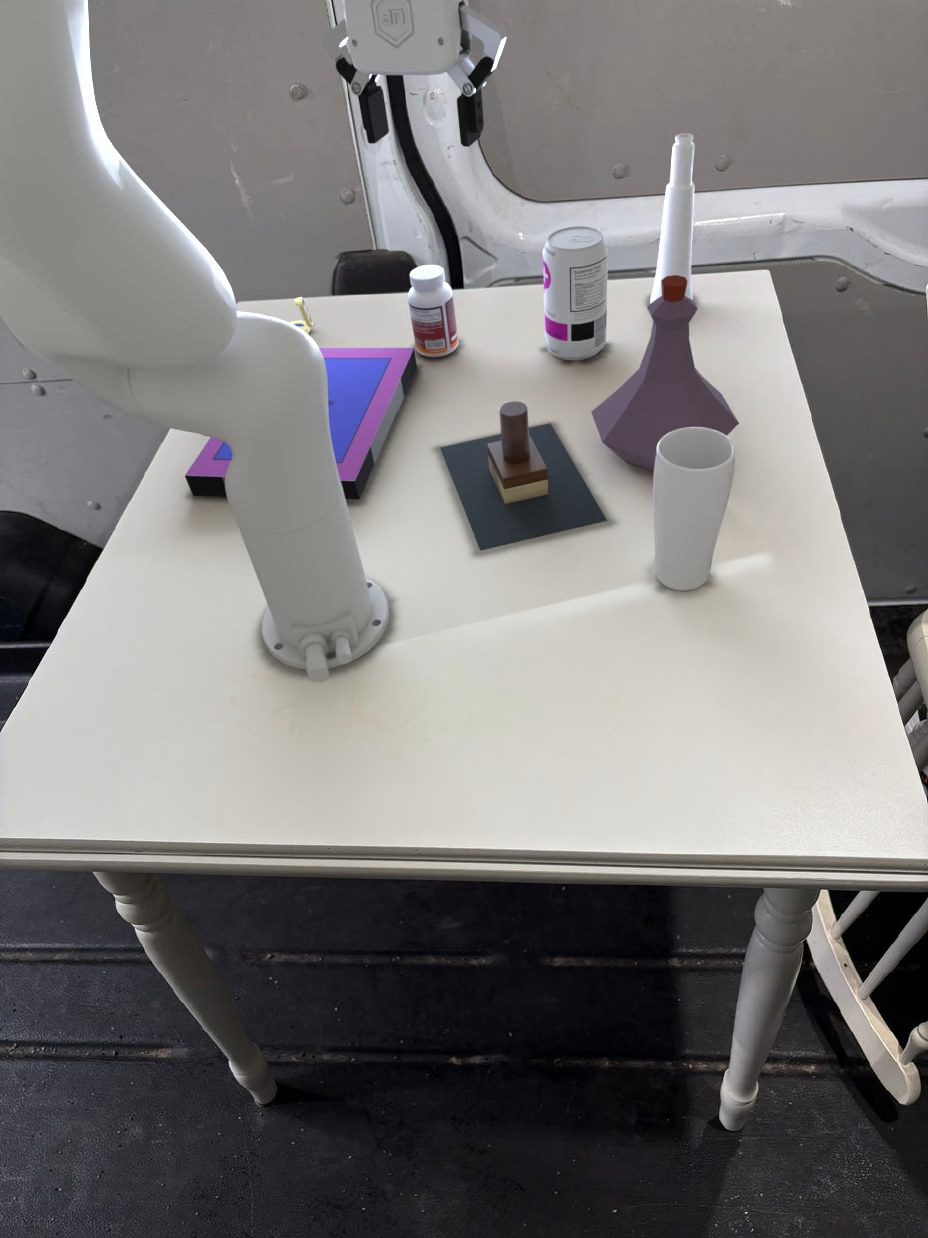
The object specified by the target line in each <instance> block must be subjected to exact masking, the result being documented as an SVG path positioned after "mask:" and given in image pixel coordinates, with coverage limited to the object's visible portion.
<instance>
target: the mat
mask: <svg viewBox="0 0 928 1238" xmlns="http://www.w3.org/2000/svg"><path fill="white" fill-rule="evenodd" d="M529 436H530V437H531V439H532V441H533V443H534V445H535V447H536V449H537V450H538V452H539V454H540V456H541V458H542V460H543V462H544V463H545V465H546V467H547V474H548V494H547V495H542V496H538V497H534V498H529V499H525V500H521V501H516V502H512V503H507V504H505V503H504V500H503V498H502V496H501V494H500V491H499V489H498V487H497V485H496V483H495V480H494V478H493V476H492V474H491V472H490V469H489V461H488V450H487V444H489V443H494V442H498V441H502V439H501V433H499V434H494V435H490V436H486V437H481V438H476V439H472V440H467V441H462V442H457V443H453V444H450V445H449V444H448V445H445V446H440V447H439V449H440V451H441V454H442V456H443V459H444V462H445V464H446V466H447V469H448V472H449V474H450V477H451V480H452V483H453V485H454V487H455V490H456V492H457V494H458V495H457V496H458V497H459V500H460V502H461V505H462V508H463V511H464V512H465V515H466V518H467V520H468V523H469V525H470V528H471V530H472V533H473V536H474V538H475V541H476V544H477V546H478V549H479V551H484V550H488V549H492V548H497V547H501V546H505V545H509V544H513V543H514V544H515V543H518V542H523V541H526V540H531V539H535V538H539V537H543V536H549V535H552V534H556V533H560V532H565V531H570V530H574V529H578V528H582V527H587V526H591V525H594V524H599V523H600V524H601V523H604V522H607V521H608V519H607V517H606V516H605V514H604V512H603V511H602V509H601V507H600V506H599V504H598V502H597V500H596V499H595V497H594V495H593V494H592V491H591V490H590V488H589V487H588V484H587V483H586V482H585V480H584V478H583V477H582V475H581V473H580V471H579V469H578V468H577V466H576V464H575V463H574V461H573V459H572V458H571V456H570V454H569V453H568V450H567V449H566V447H565V446H564V444H563V442H562V440H561V439H560V437H559V435H558V434H557V432H556V430H555V429H554V427H553V425H552V423H551V422H549V423H544V424H540V425H535V426H530V427H529Z"/></svg>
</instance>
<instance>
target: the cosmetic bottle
mask: <svg viewBox="0 0 928 1238" xmlns="http://www.w3.org/2000/svg"><path fill="white" fill-rule="evenodd" d="M674 140H675V142H674V143H673V145H672V148H671V151H672V152H671V164H670V177H669V182H668V183H667V184H666V188H665V196H664V202H663V203H664V204H663V212H662V219H661V220H662V221H661V231H660V240H659V248H658V256H657V264H656V271H655V276H654V283H653V287H652V292H651V295H650V301H649V304H651V303H652V302H653V301H655V300H656V299H657V298H659V297H661V296H662V287H661V280H662V279H664V278H665V277H666V276H673V275H678V276H682V277H685V278H686V280H687V281H688V282H687V286H686V291H685V296H687V297H688V298H690V299H691V300H693V299H694V298H693V286H692V285H693V284H692V283H693V282H692V255H693V254H692V252H693V251H692V250H693V231H694V229H693V228H694V211H695V209H694V208H695V183H694V182H693V181H692V180H693V171H694V170H693V169H694V158H695V157H694V156H695V148H696V147H695V143H694V142H693V140H694V135H693V133H689V132H685V133H684V132H683V133H678V134H676V135H675V138H674ZM693 301H694V300H693Z"/></svg>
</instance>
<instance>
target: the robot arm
mask: <svg viewBox="0 0 928 1238" xmlns="http://www.w3.org/2000/svg"><path fill="white" fill-rule="evenodd" d="M342 1H343V2H342V3H343V8H344V9H343V11H344V19H342V20H341V21H340V22H339V23H337V24H336V25H335V26H334V27H333V28H332V29H330V30H329V31H328V32H327V33H326V34H324V36H323V37H322V43H323V46H324V48H325V49H326V51H327V53H328V54H329V57H330V58H331V60H332V62H334V64H335V69H336V71H337V73H338V74H339V75H340V76H341V77H342V78H343V79H344V80H345V82H346V83H348V85H349V86H350V87H349V88H350V91H351V93H352V94H353V95H355V96H356V97H357V98H358V104H359V110H360V116H361V121H362V127H363V129H364V131H365V133H366V134H365V135H366V140H367V143H368V144H371V145H372V144H376V143H378V142H379V141H380V140H382V139H383V138H384V137H386V136H387V135H389V132H390V128H389V121H388V113H387V108H386V102H385V101H386V100H385V94H384V89H383V88H382V85H378V84H377V82H378V80H379V77H380V76H432V75H433V76H434V75H441V74H445V73H447V75H448V76H449V77H450V78H451V80H452V81H453V82H454V84H455V85H456V86H457V88H458V89H459V90H460V95H459V96H458V97H457V98H456V108H457V109H456V110H457V119H458V129H459V139H460V145H461V146H462V147H464V148H465V147H466V148H469V147H471V146H472V145H473V144H474V143H475V142H477V140H478V139H480V138H481V136H482V132H483V130H484V127H485V120H484V107H483V94H482V93H483V92H482V88H483V87H484V86H485V85H486V84H487V81H488V80H489V79H490V77H491V76H492V74H493V73H494V72H495V70H496V69H497V67H498V66H499V60H500V57H501V55H502V52H503V49H504V46H505V43H506V40H507V38H508V34H507V31H506V29H504V28H503V27H501V26H500V25H498V24H497V23H495V22H494V21H492V20H490V19H489V18H487V17H485V16H484V15H483V14H480V12H478V11H477V10H474V9H473V8H471V7H469V0H342ZM88 3H89V2H88V0H0V318H2V320H3V322H4V323H5V325H6V327H8V329H9V331H11V333H12V334H13V335H14V337H15V338H16V339H17V340H18V341H19V342H20V343H21V344H23V346H24V347H26V348H27V349H28V350H29V351H30V352H32V353H33V354H35V356H37V357H38V358H39V359H41V360H43V361H44V362H46V363H47V364H49V365H50V366H51V367H53V368H55V370H58V371H59V372H61V373H62V374H64V375H65V376H67V377H68V378H69V379H71V380H73V381H74V382H76V383H77V384H78V385H80V386H82V387H83V388H85V389H86V390H88V391H89V392H91V393H92V394H93V395H96V396H97V397H99V398H100V399H102V401H104V402H106V403H107V404H109V405H111V406H112V407H114V408H115V409H117V410H119V411H120V412H122V413H124V414H126V415H128V416H130V417H132V418H133V419H136V420H139V421H141V422H143V423H147V424H150V425H153V426H157V427H162V428H167V429H172V430H177V431H182V432H187V433H193V434H198V435H201V436H204V437H208V438H210V437H212V438H216V439H220V440H222V441H224V442H226V443H227V444H228V445H229V446H230V448H231V450H232V454H233V455H232V460H231V463H230V465H229V467H228V469H227V473H226V477H225V490H226V495H227V497H226V499H227V502H228V504H229V507H230V510H231V513H232V515H233V517H234V520H235V522H236V524H237V525H236V526H237V527H238V530H239V533H240V535H241V538H242V541H243V543H244V546H245V548H246V551H247V553H248V557H249V559H250V561H251V564H252V567H253V570H254V572H255V575H256V578H257V580H258V582H259V585H260V588H261V591H262V593H263V596H264V598H265V601H266V604H267V608H266V609H265V611H264V614H263V616H262V620H261V625H260V627H261V630H260V631H261V636H262V639H263V642H264V645H265V647H266V648H267V651H268V652H269V653H270V654H271V655H272V656H273V657H274V659H276V660H278V662H280V663H282V664H284V665H286V666H289V667H291V668H295V669H300V670H306V676H307V679H308V680H309V681H310V682H312V683H316V684H318V683H323V682H324V681H327V680H328V678H329V677H330V671H329V670H330V669H333V668H336V667H340V666H343V665H347V664H349V663H351V662H352V661H355V660H358V658H361V657H362V656H363V655H365V654H367V653H368V652H369V651H370V650H371V649H372V648H374V646H375V645H376V644H377V643H378V642H379V641H380V640H381V639H382V637H383V635H384V634H385V632H386V630H387V628H388V624H389V621H390V606H389V603H388V598H387V595H386V594H385V592H384V591H383V589H382V588H381V587H380V585H378V584H377V583H376V582H375V581H373V580H371V579H370V578H368V577H366V575H365V571H364V566H363V563H362V560H361V555H360V551H359V548H358V544H357V539H356V536H355V531H354V528H353V524H352V523H353V522H352V519H351V515H350V511H349V507H348V503H347V499H345V495H344V491H343V487H342V484H341V481H340V477H339V472H338V468H337V464H336V460H335V455H334V451H333V445H332V440H331V433H330V425H329V411H328V380H327V371H326V365H325V361H324V358H323V355H322V353H321V351H320V349H319V348H320V347H319V346H318V344H317V343H316V341H315V340H314V339H313V338H312V337H311V336H310V335H309V333H308V334H307V333H306V332H304V331H303V330H302V329H300V328H298V327H297V326H295V325H293V324H291V323H290V322H288V321H287V320H283V319H280V318H278V317H274V316H270V315H266V314H261V313H256V312H255V313H254V312H248V311H239V310H238V309H237V308H238V307H237V301H236V297H235V294H234V291H233V288H232V286H231V284H230V282H229V281H228V279H227V277H226V274H225V272H224V271H223V269H222V268H221V267H220V265H219V264H218V263H217V261H216V260H215V259H214V257H213V256H212V255H211V254H210V253H209V251H208V250H207V248H206V247H205V246H204V245H203V244H202V243H201V242H200V241H199V240H198V239H197V238H196V237H195V235H194V234H192V232H191V231H190V230H189V229H188V228H187V227H186V226H185V225H184V224H183V223H182V221H180V220H179V218H177V217H176V215H175V214H174V213H173V212H172V211H171V210H170V209H169V208H168V207H167V206H166V205H165V204H164V202H162V201H161V199H160V198H159V197H158V196H157V195H156V194H155V193H154V192H153V191H152V190H151V188H150V187H148V186H147V184H145V183H144V181H143V180H142V179H141V178H140V177H139V176H138V175H137V174H136V173H135V172H134V170H133V169H132V168H131V167H130V165H129V164H128V163H127V162H126V161H125V159H124V158H123V157H122V156H121V155H120V153H119V152H118V150H116V148H115V147H114V145H113V143H112V142H111V141H110V139H109V138H108V136H107V134H106V131H105V129H104V127H103V125H102V122H101V118H100V115H99V111H98V108H97V103H96V99H95V98H96V97H95V93H94V92H95V90H94V85H93V78H92V66H91V53H90V31H89V27H90V26H89V4H88ZM472 36H473V37H475V38H476V39H478V40H479V41H481V43H482V44H483V51H482V55H481V58H480V60H479V61H478V62H476V61H475V60H474V58H473V57H472V55H471V54H472V53H471V52H472V48H473V47H472V46H473V40H472ZM347 42H348V46H347ZM348 48H349V49H348Z"/></svg>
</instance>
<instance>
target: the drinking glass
mask: <svg viewBox="0 0 928 1238" xmlns="http://www.w3.org/2000/svg"><path fill="white" fill-rule="evenodd" d="M736 451H737V450H736V445H735V443H734V441H733V440H732V439H731V438H730V437H729V436H728V435H727V436H726V435H725V434H723V433H721V432H719V431H716V430H713V429H709V428H704V427H686V428H680V429H677V430H674V431H671V432H669V433H667V434H666V435H664V436H663V437H662V438H661V439H660V441H659V442H658V445H657V450H656V457H655V465H654V472H653V477H652V499H653V500H652V502H653V504H652V505H653V527H654V528H653V531H654V532H653V533H654V535H653V536H654V560H653V573H654V576H655V579H657V581H658V582H659V583H660V584H662V586H664V587H666V588H668V589H670V590H674V591H679V592H687V591H692V590H696V589H698V588H700V587H702V586H703V585H704V584H705V583H706V582H707V581H708V580H709V577H710V575H711V569H712V568H711V567H712V563H713V557H714V554H715V551H716V546H717V542H718V539H719V535H720V531H721V527H722V523H723V521H724V517H725V513H726V509H727V505H728V502H729V498H730V494H731V491H732V484H733V480H734V474H735V473H734V472H735V464H736V463H735V462H736Z"/></svg>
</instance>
